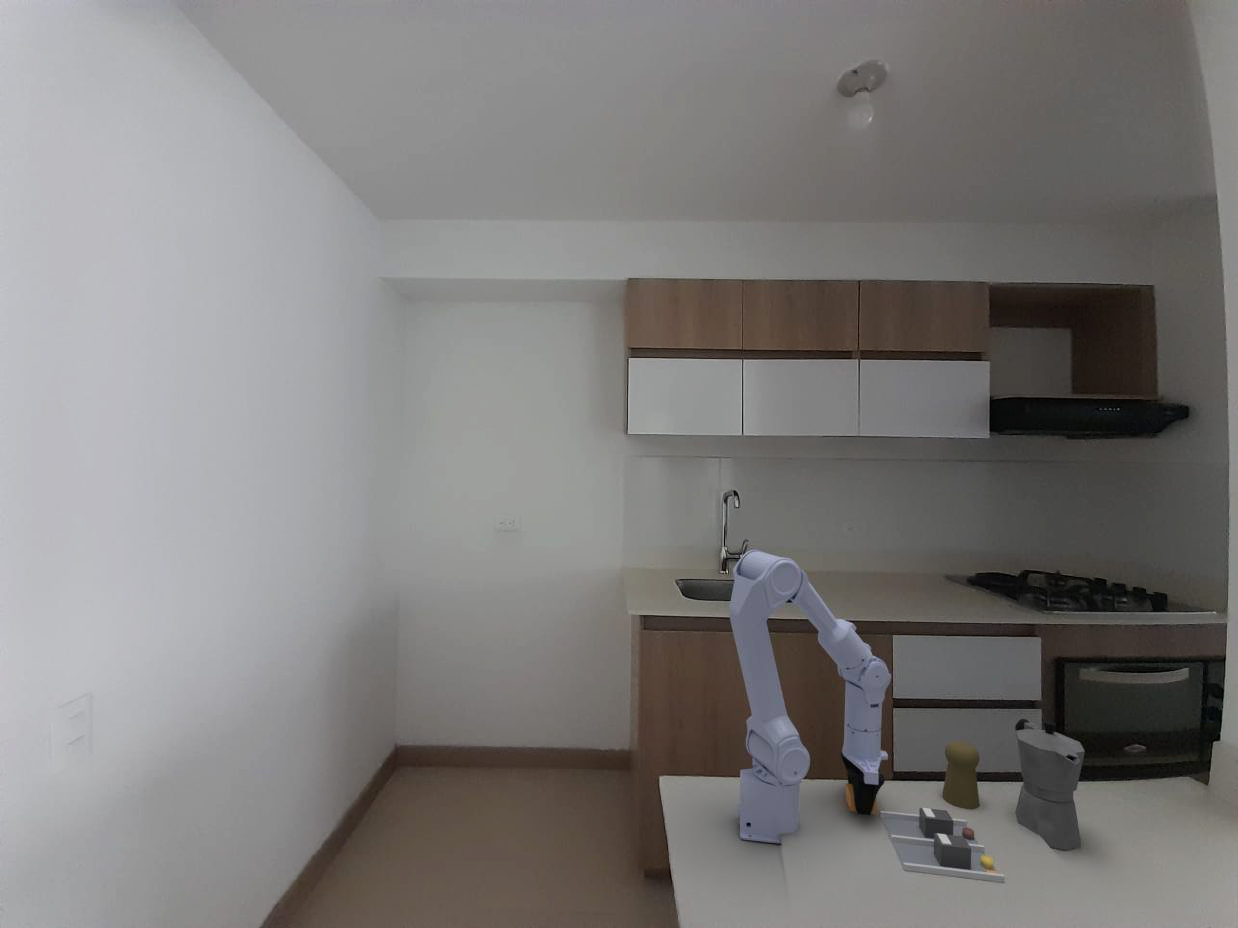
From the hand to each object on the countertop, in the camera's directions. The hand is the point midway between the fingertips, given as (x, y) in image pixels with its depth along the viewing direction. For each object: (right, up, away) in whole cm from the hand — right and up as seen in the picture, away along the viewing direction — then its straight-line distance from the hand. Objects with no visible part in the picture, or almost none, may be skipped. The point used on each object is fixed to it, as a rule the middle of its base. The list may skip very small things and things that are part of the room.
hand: (860, 805), depth 106 cm
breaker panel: (+7, -2, -11) cm, 13 cm away
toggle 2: (+8, 0, -14) cm, 16 cm away
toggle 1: (+9, 0, -8) cm, 12 cm away
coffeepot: (+28, -2, -3) cm, 29 cm away
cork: (+18, -2, +3) cm, 18 cm away
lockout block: (0, -1, 0) cm, 1 cm away
